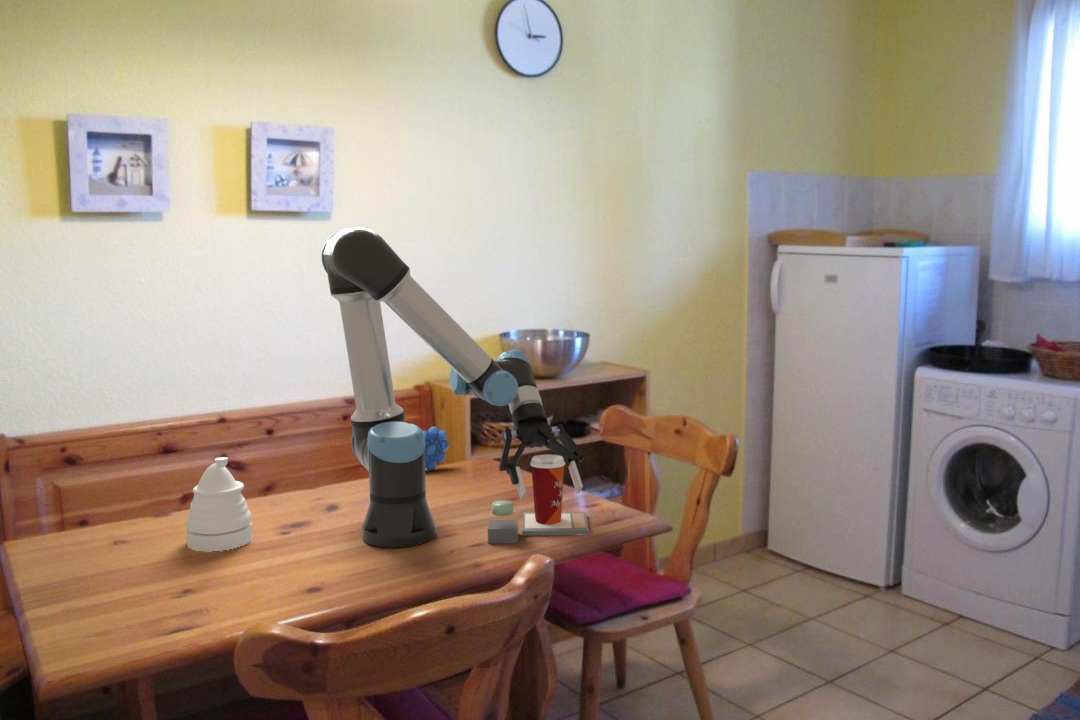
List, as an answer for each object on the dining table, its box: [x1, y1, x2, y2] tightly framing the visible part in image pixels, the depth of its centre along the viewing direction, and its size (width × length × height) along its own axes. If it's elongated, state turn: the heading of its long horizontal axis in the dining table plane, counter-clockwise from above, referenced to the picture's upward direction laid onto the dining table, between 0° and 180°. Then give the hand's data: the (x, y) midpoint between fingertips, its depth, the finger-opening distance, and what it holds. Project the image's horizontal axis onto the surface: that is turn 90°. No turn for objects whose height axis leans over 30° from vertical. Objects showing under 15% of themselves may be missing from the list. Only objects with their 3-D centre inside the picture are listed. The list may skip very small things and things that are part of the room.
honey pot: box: [185, 456, 253, 553], centre depth 187 cm, size 13×13×18 cm
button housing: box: [487, 519, 519, 544], centre depth 188 cm, size 6×6×3 cm
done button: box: [491, 500, 514, 517], centre depth 188 cm, size 4×4×2 cm
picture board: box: [521, 511, 590, 537], centre depth 196 cm, size 14×13×1 cm
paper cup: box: [529, 453, 566, 525], centre depth 196 cm, size 8×8×14 cm
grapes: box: [422, 425, 450, 471], centre depth 244 cm, size 12×7×12 cm, turn 122°
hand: (551, 493), depth 193 cm, fingers open, 12 cm apart
